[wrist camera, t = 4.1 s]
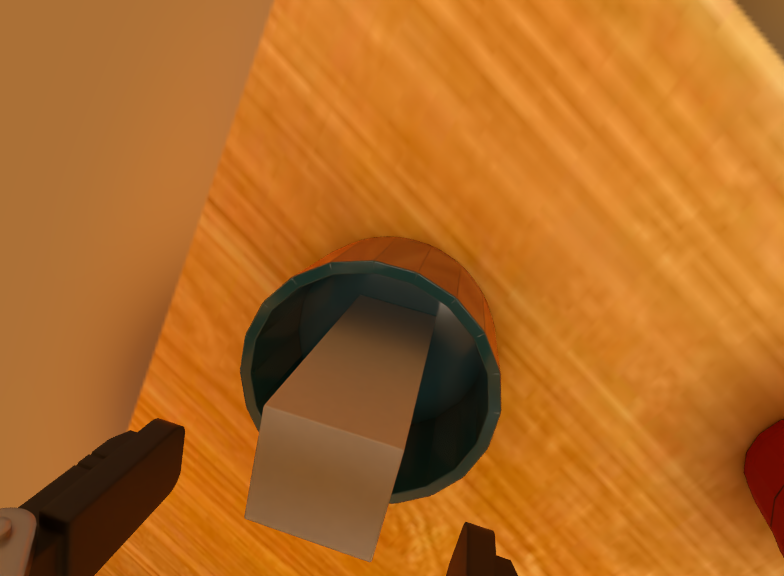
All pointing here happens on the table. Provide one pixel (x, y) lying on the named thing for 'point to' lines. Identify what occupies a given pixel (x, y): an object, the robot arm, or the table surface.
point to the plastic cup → (768, 478)
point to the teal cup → (443, 363)
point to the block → (341, 429)
